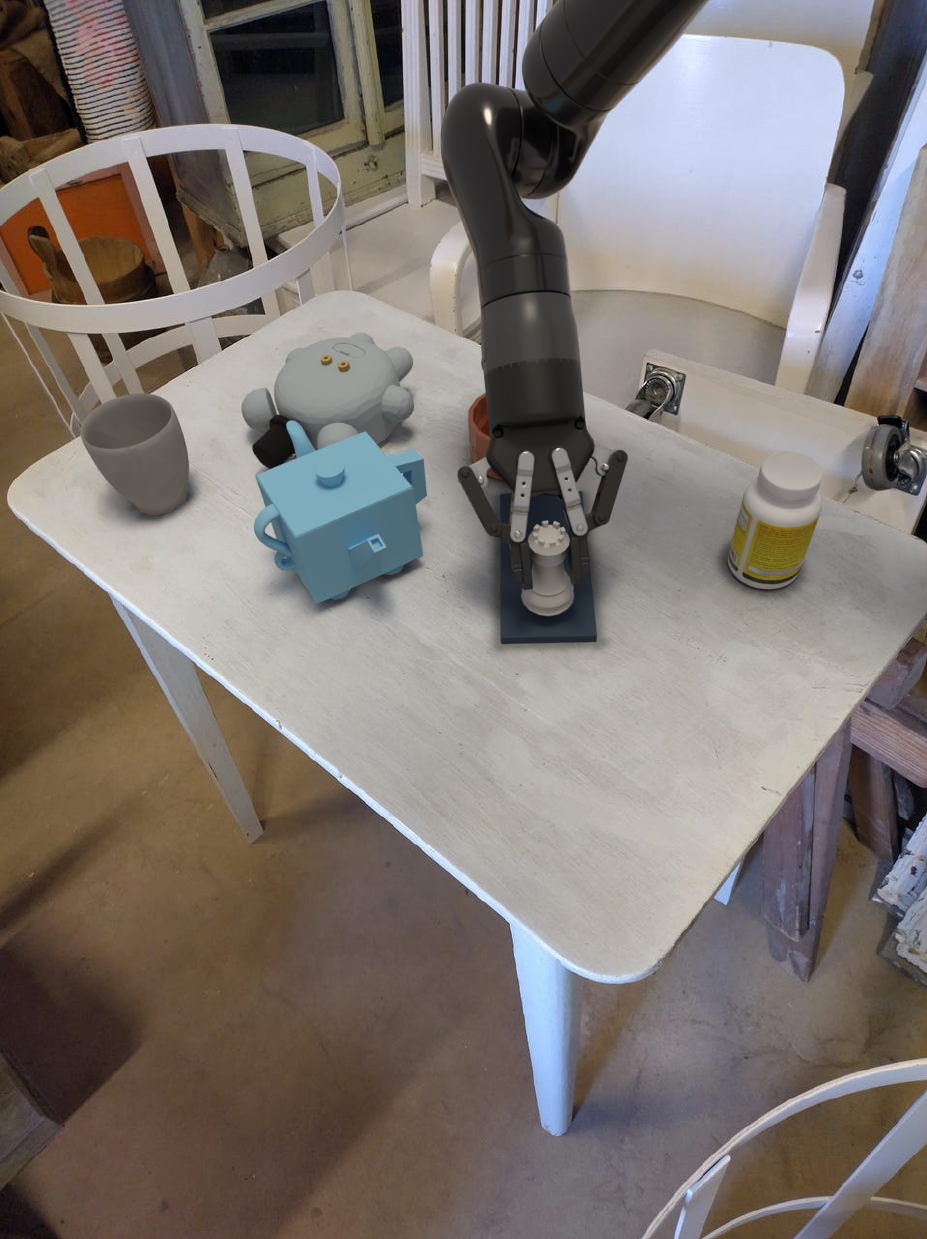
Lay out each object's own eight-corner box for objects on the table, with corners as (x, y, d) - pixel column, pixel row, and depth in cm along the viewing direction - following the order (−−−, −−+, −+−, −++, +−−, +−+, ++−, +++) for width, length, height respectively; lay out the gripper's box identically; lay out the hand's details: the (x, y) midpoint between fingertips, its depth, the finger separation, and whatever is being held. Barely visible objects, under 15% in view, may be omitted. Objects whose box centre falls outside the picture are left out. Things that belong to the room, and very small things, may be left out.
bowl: (564, 421, 88) (566, 381, 84) (570, 483, 81) (572, 443, 77) (471, 425, 88) (469, 385, 84) (470, 486, 82) (467, 447, 78)
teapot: (313, 654, 69) (281, 563, 61) (240, 531, 80) (205, 438, 71) (472, 579, 74) (464, 484, 65) (384, 471, 84) (367, 377, 76)
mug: (222, 491, 84) (192, 414, 76) (151, 539, 80) (112, 462, 72) (155, 447, 89) (121, 370, 82) (86, 490, 85) (43, 413, 78)
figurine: (340, 356, 97) (222, 461, 90) (321, 293, 91) (191, 401, 83) (455, 402, 90) (338, 521, 82) (444, 337, 83) (314, 460, 75)
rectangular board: (500, 499, 80) (500, 493, 80) (581, 496, 80) (582, 490, 79) (501, 643, 69) (501, 637, 68) (596, 641, 68) (597, 635, 68)
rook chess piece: (545, 571, 71) (546, 503, 65) (584, 597, 69) (590, 530, 63) (510, 600, 69) (508, 533, 63) (549, 627, 67) (551, 561, 61)
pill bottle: (813, 570, 72) (851, 473, 63) (764, 603, 70) (796, 507, 61) (760, 531, 75) (789, 434, 67) (711, 561, 73) (734, 465, 65)
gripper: (440, 365, 59) (465, 599, 61) (632, 344, 59) (651, 579, 61) (441, 384, 67) (463, 593, 69) (612, 366, 67) (630, 575, 69)
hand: (552, 585), depth 65 cm, fingers closed on rook chess piece, 3 cm apart
